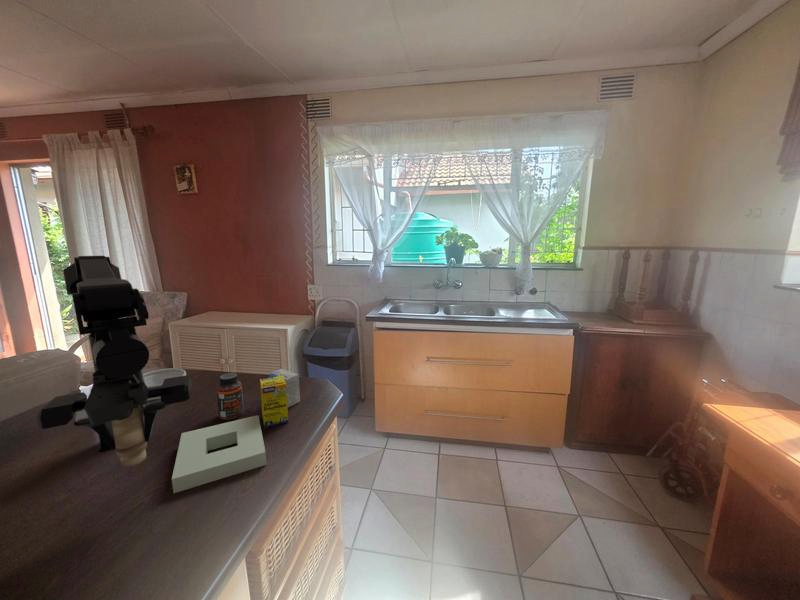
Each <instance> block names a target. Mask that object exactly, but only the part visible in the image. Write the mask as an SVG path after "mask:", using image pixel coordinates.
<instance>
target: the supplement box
mask: <svg viewBox="0 0 800 600" xmlns="http://www.w3.org/2000/svg"><path fill="white" fill-rule="evenodd" d="M259 389H260V390H259V391H260V402H261V405H260V406H261V417H262V423H263V424H262V425H263V428H264V429H266V428H270V427H273V426H277V425H278V426H279V425H282V424H288V423H289V413H288V411H289V410H288V407H287V391H286V383H285V380H284V376H283V375H282V376H279V377H272V378H269V377H268V378H260V379H259Z"/></svg>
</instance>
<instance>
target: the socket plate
mask: <svg viewBox="0 0 800 600" xmlns="http://www.w3.org/2000/svg"><path fill="white" fill-rule="evenodd" d="M259 416H260V415H259V414H258V415H254V416H253V415H252V416H249V417H244V418H239V419H236V420H233V421H231V420H230V421H227V422H223V423H219V424H215V425H211V426H206V427H202V428H198V429H197V428H196V429H195V430H189V431H185V432H181V435H180V439H179V443H178V448H177V453H176V458H175V463H174V467H173V472H172V476H171V483H172V484H171V485H172V490H173V494H176V493H180V492H182V491H186V490H189V489H193V488H196V487H200V486H202V485H205V484H208V483H213V482H215V481H218V480H221V479H222V480H223V479H224V478H228V477H232V476H234V475H238V474H240V473H245V472H247V471H251V470H254V469H257V468H260V467H263V466H267V453H266V447H265V442H264V438H263V432H262V427H261V422H260V417H259ZM234 444H237V445H235V446H232V447H228V448H224V447H227V446H231V445H234ZM219 448H224V449H220V450H217V451H213V452H210V453H208V452H209V451H212V450H216V449H219Z"/></svg>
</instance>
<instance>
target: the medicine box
mask: <svg viewBox="0 0 800 600" xmlns="http://www.w3.org/2000/svg"><path fill="white" fill-rule="evenodd" d="M282 375H283V376H284V380H285V383H286V391H287V409H288V408H290V406H291V407H292V405H293V406H295V405H296V404H298V403H300V402H301V395H300V394H301V393H300V392H301V391H300V381H299V378H300V377H299V374H297V373H295V372H292V371H289V370H287V369H284V368H279V369H277V370H274V371H272V372H270V373H269V374H268V378H272V377H279V376H282Z"/></svg>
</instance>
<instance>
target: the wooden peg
mask: <svg viewBox="0 0 800 600" xmlns="http://www.w3.org/2000/svg"><path fill="white" fill-rule="evenodd" d="M111 423H112V429H113V435H114V440H115V449H114V450H115V452H116V457H118V458H119V459H120V465H121V467H124V468H128V467H133V466H137V465H139V464H140V463H142V462H144V461H145V460H146V459H147V451H146V449H147V447H148V444H147V443H148V442H146V440H145V434H144V415H143V409H141V405H139V406H138V408H134V409H133V412H132V415H131V416H130V417H128V418H126V419H123V420H113V421H111Z"/></svg>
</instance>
